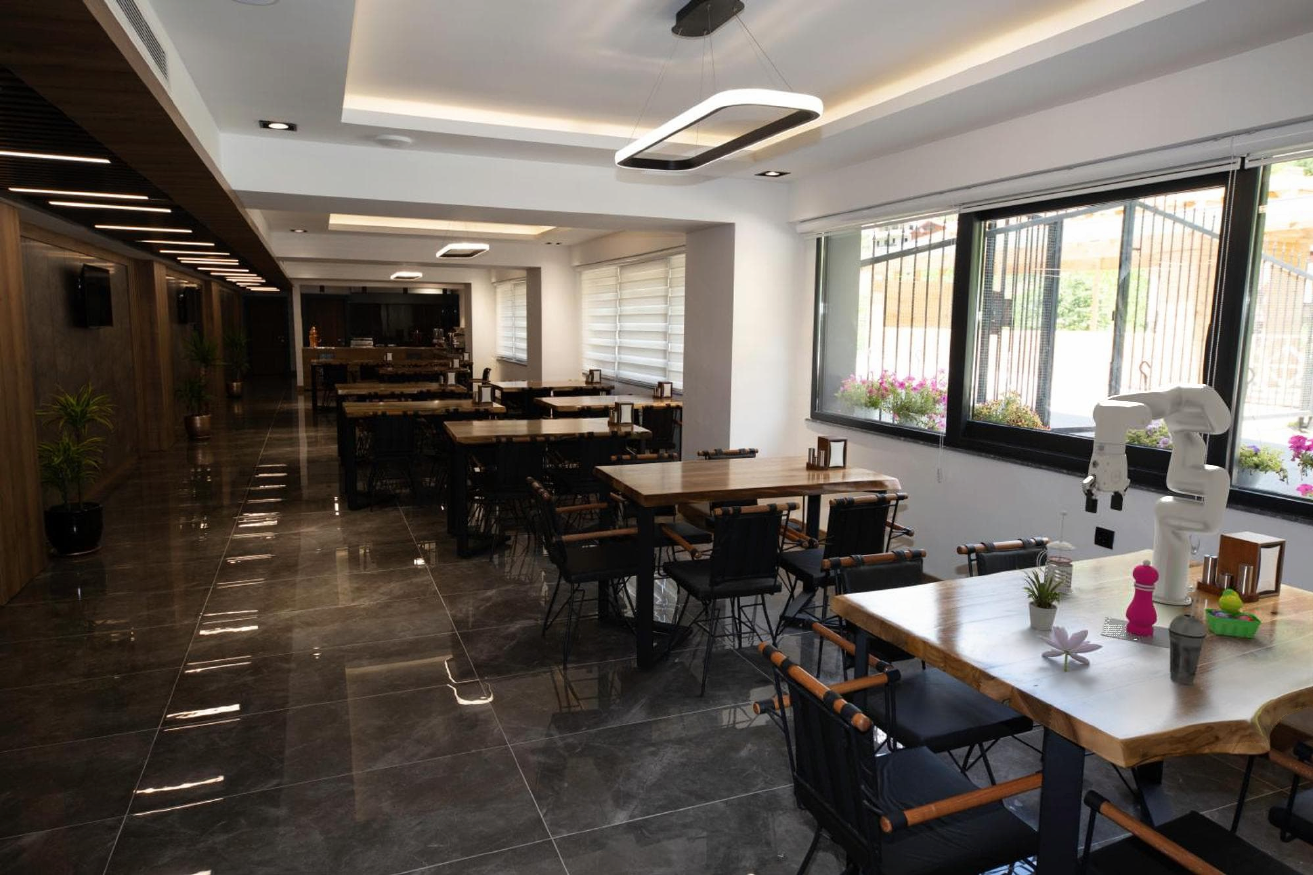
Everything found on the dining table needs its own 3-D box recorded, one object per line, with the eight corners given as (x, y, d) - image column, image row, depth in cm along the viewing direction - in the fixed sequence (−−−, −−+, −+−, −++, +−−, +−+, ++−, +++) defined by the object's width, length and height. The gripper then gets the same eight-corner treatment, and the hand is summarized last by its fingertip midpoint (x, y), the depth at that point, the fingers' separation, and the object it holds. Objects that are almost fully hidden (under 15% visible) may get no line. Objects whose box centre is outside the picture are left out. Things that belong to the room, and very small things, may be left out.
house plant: (999, 625, 220) (1004, 567, 218) (1017, 613, 230) (1022, 558, 228) (1055, 639, 210) (1060, 578, 208) (1071, 626, 220) (1077, 568, 218)
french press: (1080, 594, 250) (1087, 515, 247) (1042, 593, 250) (1049, 514, 247) (1065, 584, 259) (1071, 508, 256) (1028, 583, 259) (1035, 507, 256)
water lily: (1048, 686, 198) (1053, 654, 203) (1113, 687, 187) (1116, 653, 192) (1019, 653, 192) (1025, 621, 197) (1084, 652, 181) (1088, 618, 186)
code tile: (1101, 634, 214) (1101, 634, 214) (1105, 617, 229) (1105, 616, 229) (1177, 649, 205) (1177, 648, 205) (1176, 630, 220) (1177, 629, 220)
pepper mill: (1147, 628, 220) (1154, 556, 218) (1160, 637, 213) (1168, 564, 211) (1119, 626, 221) (1126, 555, 218) (1132, 636, 214) (1139, 562, 211)
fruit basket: (1210, 634, 217) (1214, 594, 216) (1200, 624, 225) (1205, 584, 224) (1260, 641, 213) (1265, 599, 212) (1249, 630, 221) (1253, 590, 220)
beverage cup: (1155, 673, 189) (1164, 591, 187) (1184, 673, 190) (1194, 591, 188) (1178, 687, 182) (1187, 601, 180) (1208, 686, 183) (1218, 601, 180)
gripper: (1098, 452, 212) (1093, 516, 214) (1144, 449, 218) (1138, 511, 221) (1074, 448, 219) (1068, 510, 221) (1118, 446, 225) (1113, 506, 227)
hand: (1103, 511), depth 221 cm, fingers open, 9 cm apart
